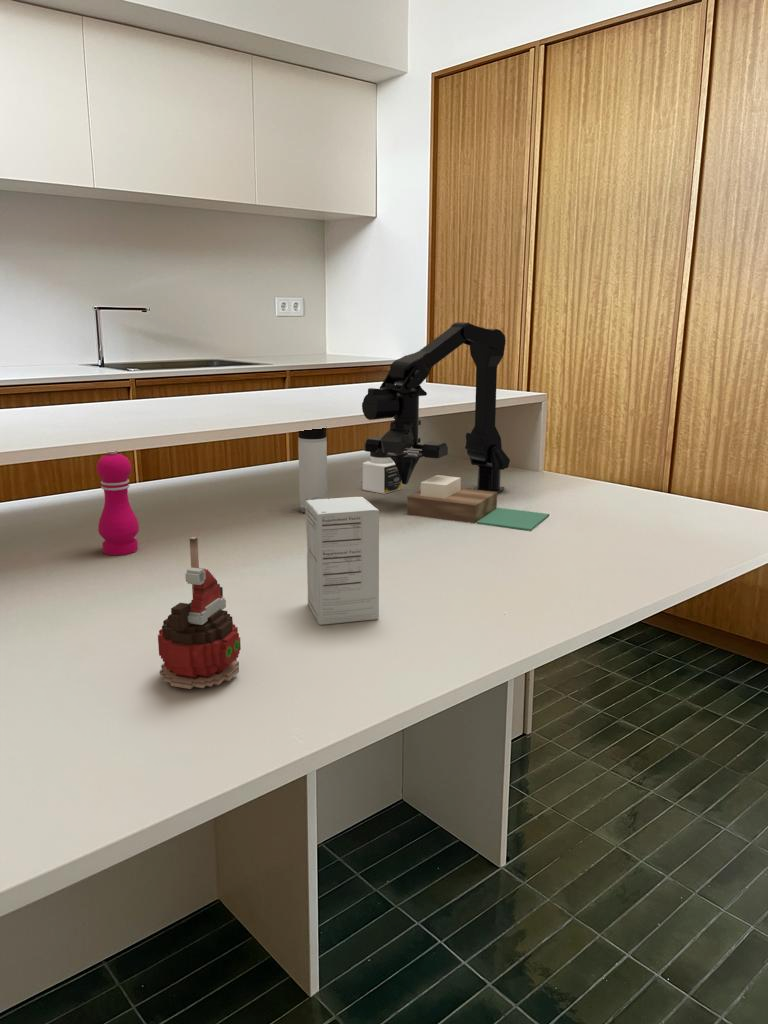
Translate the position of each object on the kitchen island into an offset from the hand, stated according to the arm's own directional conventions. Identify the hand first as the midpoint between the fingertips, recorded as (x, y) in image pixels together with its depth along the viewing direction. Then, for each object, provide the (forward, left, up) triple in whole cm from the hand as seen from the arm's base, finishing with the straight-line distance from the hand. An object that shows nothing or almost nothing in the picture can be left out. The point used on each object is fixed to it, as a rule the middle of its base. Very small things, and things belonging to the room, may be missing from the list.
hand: (405, 484), depth 183 cm
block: (0, +9, -1) cm, 9 cm away
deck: (0, +12, -5) cm, 13 cm away
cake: (+91, +15, -5) cm, 92 cm away
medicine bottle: (-12, -12, -5) cm, 18 cm away
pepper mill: (+57, -32, -5) cm, 66 cm away
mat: (0, +26, -5) cm, 27 cm away
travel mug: (+14, -16, -5) cm, 22 cm away
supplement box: (+64, +20, -5) cm, 67 cm away
